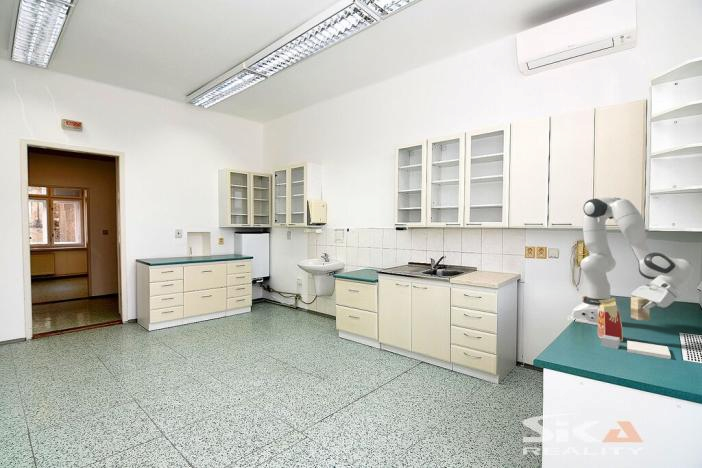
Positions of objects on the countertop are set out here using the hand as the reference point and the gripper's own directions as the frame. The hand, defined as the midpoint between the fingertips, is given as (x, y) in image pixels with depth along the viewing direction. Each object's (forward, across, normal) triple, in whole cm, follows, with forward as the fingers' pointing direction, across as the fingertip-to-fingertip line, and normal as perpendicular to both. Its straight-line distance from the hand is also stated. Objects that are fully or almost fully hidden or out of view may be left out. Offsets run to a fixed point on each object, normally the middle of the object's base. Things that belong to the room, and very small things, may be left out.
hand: (638, 307), depth 166 cm
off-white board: (+15, +15, +7) cm, 23 cm away
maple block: (+3, 0, +4) cm, 5 cm away
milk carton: (+19, -3, +4) cm, 20 cm away
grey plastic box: (+24, +9, -1) cm, 25 cm away
